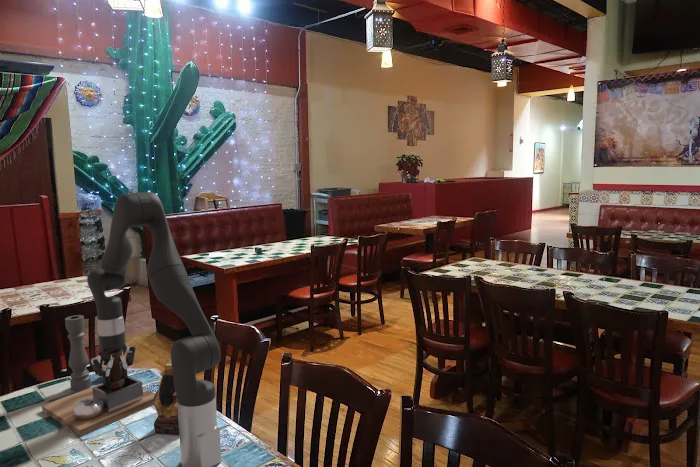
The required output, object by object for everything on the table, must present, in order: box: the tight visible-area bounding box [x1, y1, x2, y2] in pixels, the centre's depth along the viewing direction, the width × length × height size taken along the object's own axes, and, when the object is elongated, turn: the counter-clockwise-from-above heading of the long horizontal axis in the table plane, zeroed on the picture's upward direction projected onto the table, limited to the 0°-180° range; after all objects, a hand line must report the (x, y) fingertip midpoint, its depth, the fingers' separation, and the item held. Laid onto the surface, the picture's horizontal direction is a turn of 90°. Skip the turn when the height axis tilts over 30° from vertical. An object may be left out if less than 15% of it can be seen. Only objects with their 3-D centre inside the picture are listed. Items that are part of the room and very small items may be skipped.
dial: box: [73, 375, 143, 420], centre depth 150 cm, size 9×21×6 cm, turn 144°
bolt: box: [107, 349, 125, 393], centre depth 151 cm, size 6×5×15 cm
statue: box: [153, 358, 179, 436], centre depth 138 cm, size 12×8×20 cm, turn 76°
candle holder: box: [64, 314, 92, 393], centre depth 165 cm, size 6×6×25 cm
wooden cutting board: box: [41, 382, 156, 437], centre depth 153 cm, size 25×25×2 cm
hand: (115, 383), depth 151 cm, fingers closed on bolt, 4 cm apart
